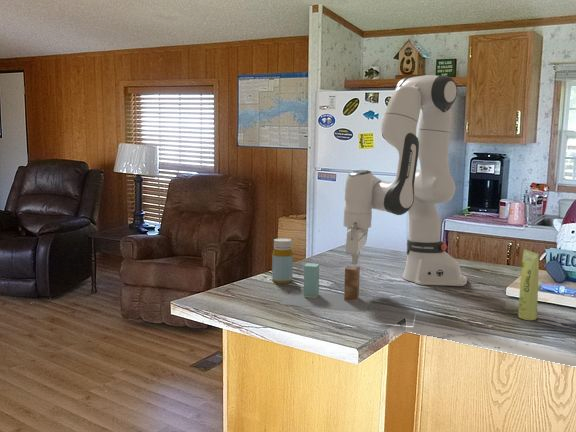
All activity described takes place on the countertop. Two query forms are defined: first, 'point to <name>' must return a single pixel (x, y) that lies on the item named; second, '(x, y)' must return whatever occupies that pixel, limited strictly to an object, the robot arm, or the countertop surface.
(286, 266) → the bottle
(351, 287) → the walnut block
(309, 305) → the mat
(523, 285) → the tube
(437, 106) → the robot arm
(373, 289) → the countertop surface
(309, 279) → the teal block
